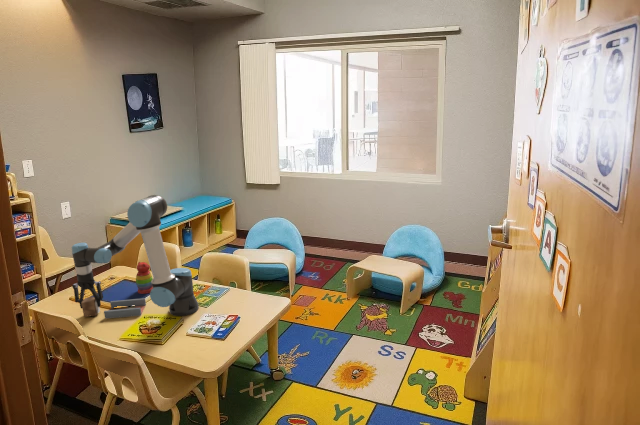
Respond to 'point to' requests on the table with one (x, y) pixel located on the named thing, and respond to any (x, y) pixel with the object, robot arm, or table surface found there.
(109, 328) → the table surface
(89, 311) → the walnut block
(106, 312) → the trap trough
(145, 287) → the stacking bear
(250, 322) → the table surface
